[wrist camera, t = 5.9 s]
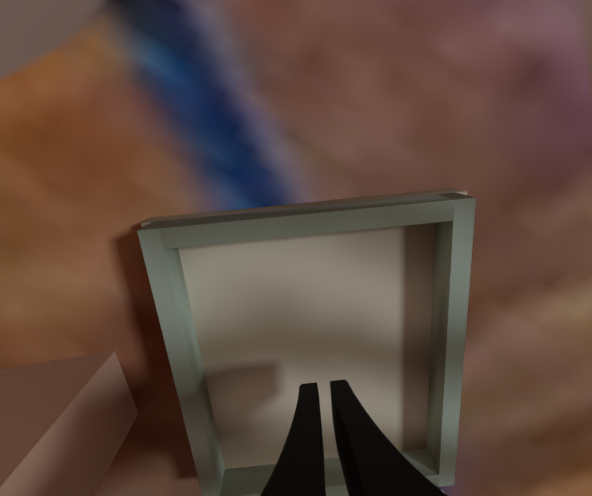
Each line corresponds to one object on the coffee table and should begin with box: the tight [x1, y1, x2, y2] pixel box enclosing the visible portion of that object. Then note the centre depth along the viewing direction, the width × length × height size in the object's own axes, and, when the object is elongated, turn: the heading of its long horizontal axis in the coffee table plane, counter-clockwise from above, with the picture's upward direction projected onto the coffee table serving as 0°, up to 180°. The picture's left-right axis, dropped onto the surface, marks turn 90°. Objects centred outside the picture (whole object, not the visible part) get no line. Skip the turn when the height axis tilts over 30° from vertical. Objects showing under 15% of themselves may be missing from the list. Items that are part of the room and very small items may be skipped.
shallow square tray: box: [137, 188, 476, 496], centre depth 15 cm, size 15×14×2 cm
